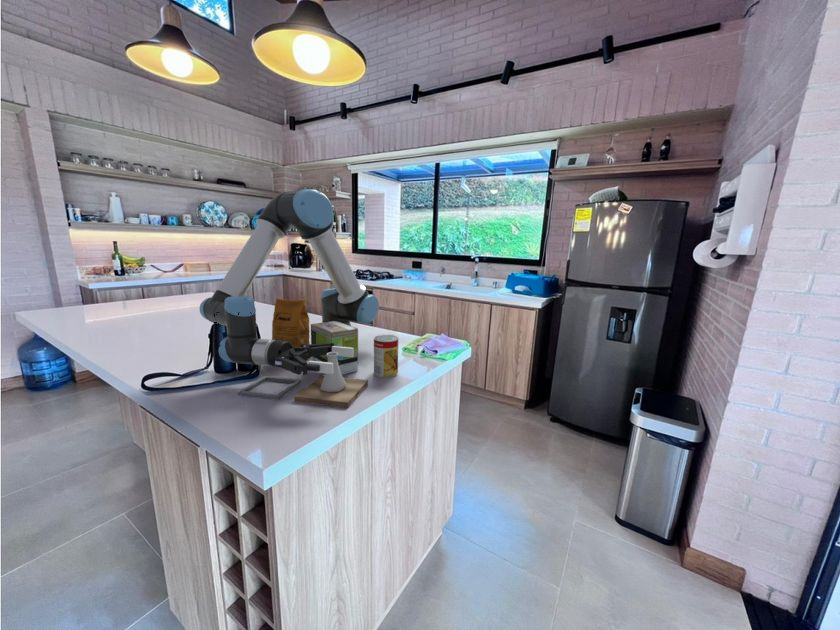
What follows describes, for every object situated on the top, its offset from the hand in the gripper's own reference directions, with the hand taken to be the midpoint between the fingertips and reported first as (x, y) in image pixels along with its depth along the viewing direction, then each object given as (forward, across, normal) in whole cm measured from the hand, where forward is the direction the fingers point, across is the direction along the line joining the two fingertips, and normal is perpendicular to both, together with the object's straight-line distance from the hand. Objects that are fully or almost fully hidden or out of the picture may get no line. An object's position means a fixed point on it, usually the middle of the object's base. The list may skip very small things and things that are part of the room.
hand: (343, 360), depth 91 cm
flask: (-3, 0, -9) cm, 9 cm away
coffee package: (-30, -23, -10) cm, 39 cm away
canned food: (+7, -18, -10) cm, 22 cm away
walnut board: (-3, 0, -10) cm, 11 cm away
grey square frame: (-21, +2, -10) cm, 24 cm away
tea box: (-11, -18, -10) cm, 24 cm away
